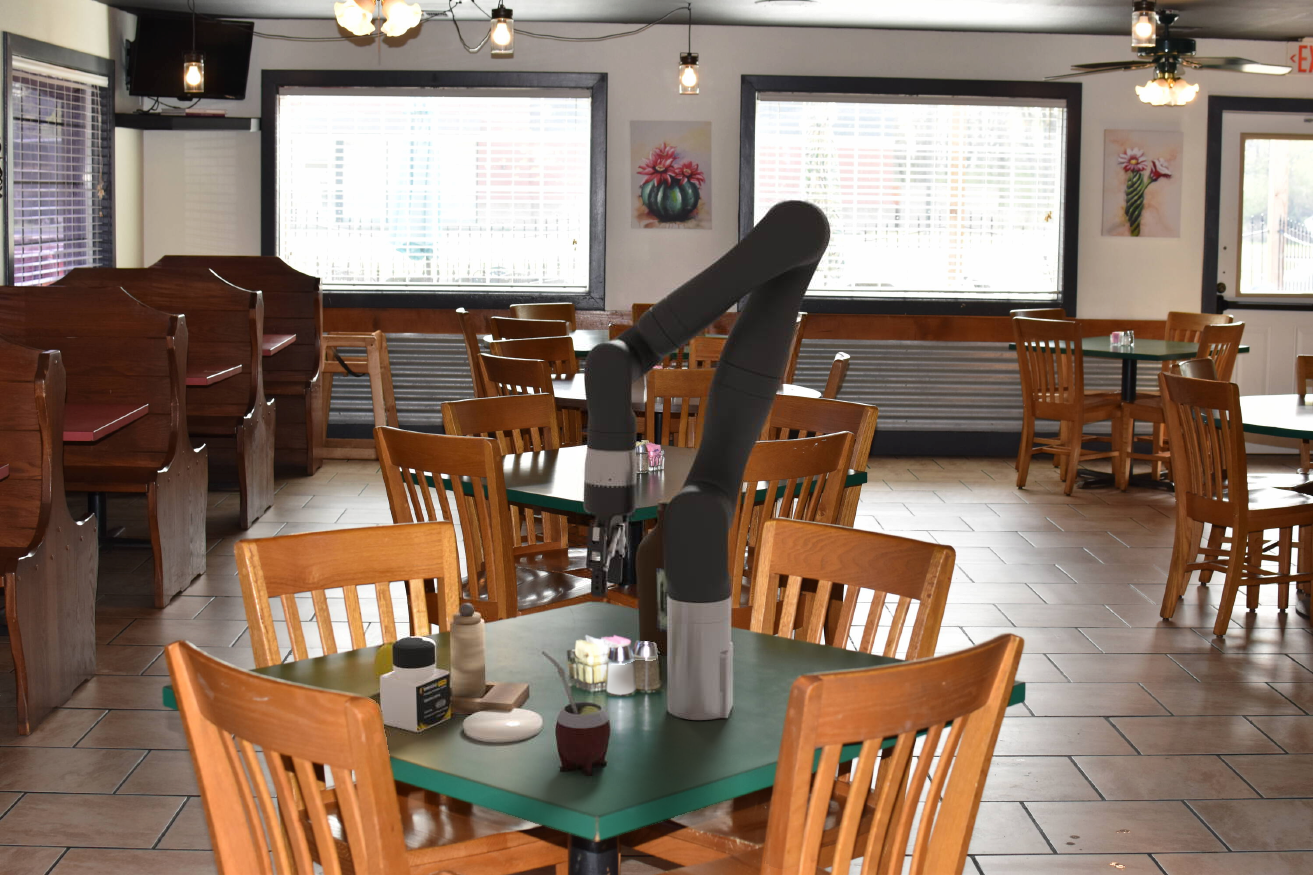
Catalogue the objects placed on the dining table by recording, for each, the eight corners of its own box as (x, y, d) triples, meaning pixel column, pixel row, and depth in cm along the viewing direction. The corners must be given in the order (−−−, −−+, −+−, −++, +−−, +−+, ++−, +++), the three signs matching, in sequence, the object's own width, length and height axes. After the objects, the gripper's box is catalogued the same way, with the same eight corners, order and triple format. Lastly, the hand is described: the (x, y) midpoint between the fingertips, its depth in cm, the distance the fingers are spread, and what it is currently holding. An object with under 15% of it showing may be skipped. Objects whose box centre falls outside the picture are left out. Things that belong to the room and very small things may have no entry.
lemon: (403, 699, 198) (402, 647, 197) (368, 696, 199) (367, 645, 198) (417, 687, 203) (416, 636, 202) (383, 685, 204) (382, 634, 203)
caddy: (529, 696, 199) (529, 683, 198) (512, 717, 190) (512, 703, 190) (446, 691, 201) (446, 678, 201) (426, 711, 192) (425, 698, 192)
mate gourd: (617, 773, 169) (617, 660, 167) (558, 782, 167) (556, 667, 164) (599, 753, 176) (598, 644, 174) (542, 761, 174) (540, 650, 171)
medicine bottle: (418, 733, 184) (415, 650, 182) (380, 724, 187) (377, 642, 186) (451, 718, 190) (449, 637, 188) (414, 709, 193) (412, 629, 192)
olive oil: (626, 642, 226) (625, 498, 223) (683, 635, 231) (683, 493, 227) (650, 659, 217) (650, 509, 213) (709, 651, 221) (709, 504, 217)
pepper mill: (490, 698, 198) (488, 599, 196) (479, 710, 193) (477, 608, 191) (458, 696, 199) (455, 597, 197) (447, 708, 194) (444, 606, 192)
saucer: (551, 716, 190) (551, 710, 190) (530, 744, 179) (529, 737, 179) (477, 712, 192) (477, 705, 192) (452, 739, 181) (452, 732, 181)
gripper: (623, 488, 182) (619, 603, 184) (647, 474, 196) (643, 580, 198) (571, 484, 184) (567, 598, 186) (598, 470, 198) (595, 576, 200)
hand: (606, 589), depth 192 cm, fingers open, 8 cm apart
